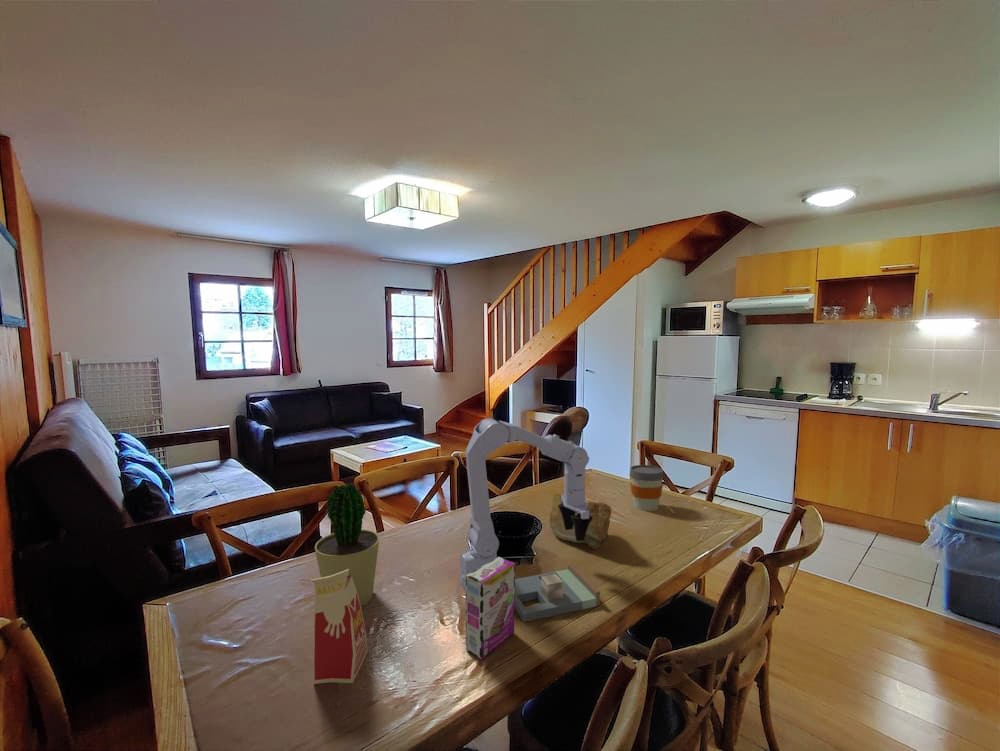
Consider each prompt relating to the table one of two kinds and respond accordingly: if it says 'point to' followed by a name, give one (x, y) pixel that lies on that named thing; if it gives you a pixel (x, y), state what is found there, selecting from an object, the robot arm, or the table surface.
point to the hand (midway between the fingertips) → (574, 534)
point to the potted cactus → (349, 542)
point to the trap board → (574, 598)
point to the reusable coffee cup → (646, 486)
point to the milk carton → (338, 630)
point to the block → (551, 587)
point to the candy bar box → (489, 606)
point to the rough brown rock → (595, 529)
